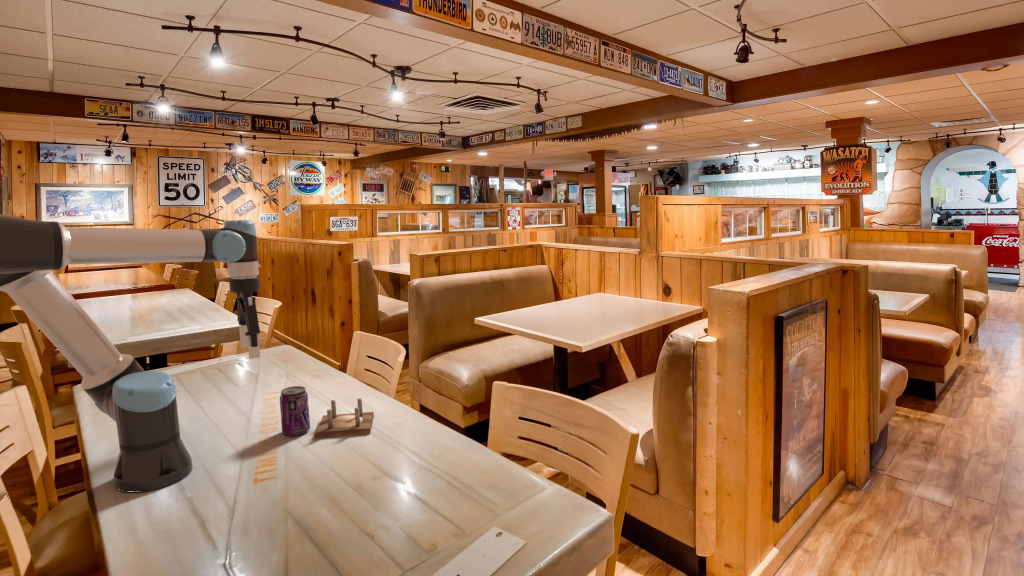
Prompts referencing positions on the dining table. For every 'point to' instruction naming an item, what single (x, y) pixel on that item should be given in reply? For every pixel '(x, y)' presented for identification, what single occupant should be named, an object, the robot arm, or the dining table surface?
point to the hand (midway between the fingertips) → (250, 352)
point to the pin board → (345, 422)
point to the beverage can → (294, 410)
